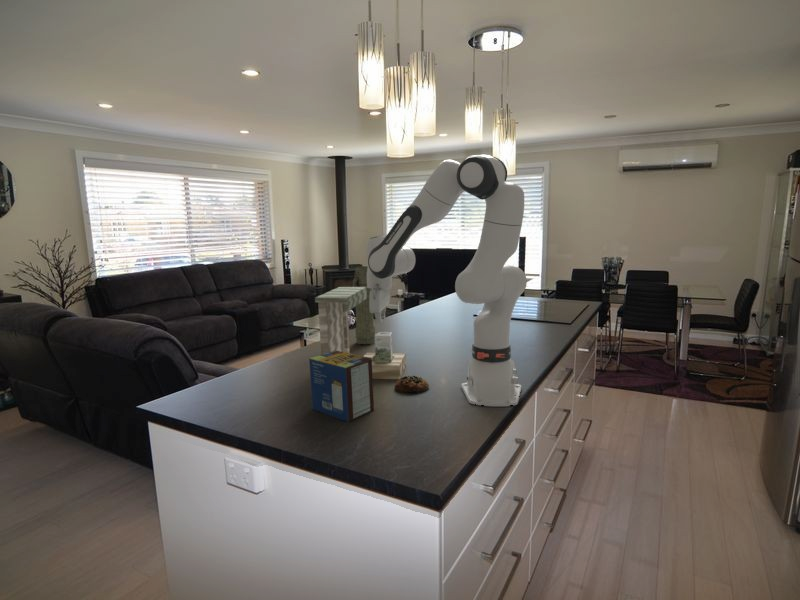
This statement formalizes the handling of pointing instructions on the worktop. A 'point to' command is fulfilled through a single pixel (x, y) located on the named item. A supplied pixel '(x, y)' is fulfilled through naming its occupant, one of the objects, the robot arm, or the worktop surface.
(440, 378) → the worktop surface
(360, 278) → the olive green tall block
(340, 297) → the socket stand
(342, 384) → the protein box
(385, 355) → the syrup box
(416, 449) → the worktop surface
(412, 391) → the bread roll
